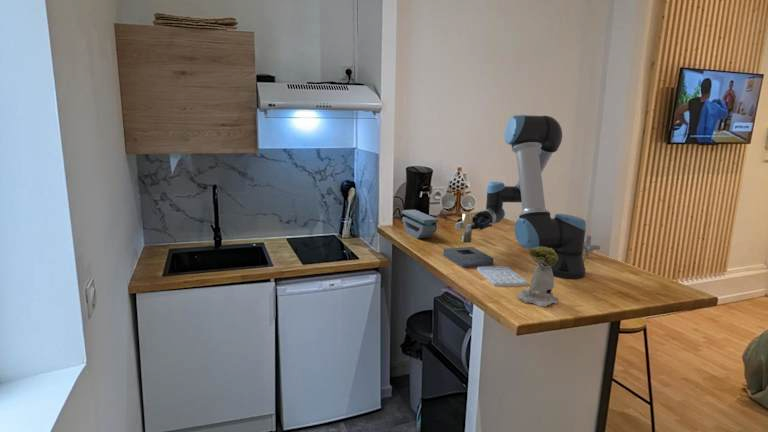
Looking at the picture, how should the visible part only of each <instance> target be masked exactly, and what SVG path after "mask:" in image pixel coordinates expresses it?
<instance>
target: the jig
mask: <svg viewBox="0 0 768 432" xmlns="http://www.w3.org/2000/svg"><path fill="white" fill-rule="evenodd" d="M443 256H444V257H445V258H447V259H448V260H450V261H451V262H453V263H455V264H456V263H457V264H456V265H457V266H459V267H461V268H474V267H475V268H476V267H489V266H494V260H495V259H494V257H492V256H490V255H488V254H486V253H485V252H483V251H481V250H480V249H477V248H476V247H474V246H463V247H462V246H461V247H450V248H449V247H447V248H443Z"/></svg>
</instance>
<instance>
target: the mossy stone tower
mask: <svg viewBox="0 0 768 432" xmlns="http://www.w3.org/2000/svg"><path fill="white" fill-rule="evenodd" d="M528 254H529V255H530V258H531V260H533V262H535V263H537V264H538V266H537V267H536V269H535V270H534V272H533V275H532V278H531V281H530V284H529V289H523V290H521V291H520V293H517V297H518V298H519V299H520V300H522V301H523V302H522V303H524V304H525V303H526V304H527V303H529V304H530V303H531V304H534V305H535V306H538V307H548V306H550V305H552V306H554V304H555V305H556V304H559V303H558V302H559V298H557V297H556V296H554V293H553V292H552V290H553V289H554V287H555V280H556V278H555V276H553V272H552V269H551V266H554V265H555V263H556V262H557V261H558V256H557V254H556V252H555V251H554V250H553V249H552V248H548V247H535V248H534V247H533V248H532V249H530V251H529V253H528ZM553 303H554V304H553Z"/></svg>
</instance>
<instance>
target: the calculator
mask: <svg viewBox="0 0 768 432" xmlns="http://www.w3.org/2000/svg"><path fill="white" fill-rule="evenodd" d="M476 267H477V268H476V270H477V272H479V274H480V275H482V276H483V277H484V279H486V280H487V281H488V282H489V283H490V284H491V286H493V285H494V286H493V287H526V286H528V283H529V282H527V280H525V278H523V277H522V276H520V275H519V274H518V273H517V272H515V270H513V269H511V267H509V266H506V265H505V266H503V265H502V266H494V265H491V266H476Z"/></svg>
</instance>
